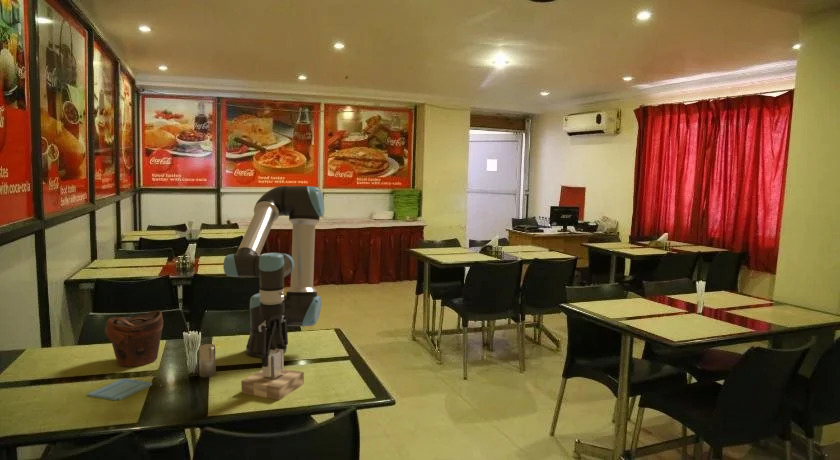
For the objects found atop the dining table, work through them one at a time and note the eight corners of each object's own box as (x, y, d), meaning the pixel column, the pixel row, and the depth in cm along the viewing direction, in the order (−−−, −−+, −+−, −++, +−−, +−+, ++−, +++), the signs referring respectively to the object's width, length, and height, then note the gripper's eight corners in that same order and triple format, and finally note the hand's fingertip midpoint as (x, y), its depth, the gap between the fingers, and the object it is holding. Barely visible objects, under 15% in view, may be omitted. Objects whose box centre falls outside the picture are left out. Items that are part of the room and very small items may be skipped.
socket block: (268, 377, 188) (267, 366, 187) (303, 383, 183) (303, 372, 182) (241, 393, 175) (241, 381, 174) (279, 400, 170) (279, 387, 169)
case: (93, 366, 196) (92, 317, 194) (140, 350, 215) (139, 304, 213) (131, 374, 190) (130, 323, 188) (175, 356, 208) (175, 310, 206)
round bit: (206, 371, 193) (206, 343, 192) (219, 373, 192) (218, 345, 191) (196, 376, 188) (195, 347, 187) (208, 378, 187) (207, 349, 186)
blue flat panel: (118, 402, 168) (118, 398, 168) (87, 397, 171) (87, 393, 171) (152, 386, 180) (152, 382, 180) (123, 381, 184) (123, 378, 184)
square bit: (272, 384, 181) (270, 349, 179) (281, 386, 180) (280, 350, 178) (265, 389, 178) (264, 353, 176) (275, 390, 176) (273, 354, 175)
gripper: (263, 310, 165) (265, 384, 168) (298, 296, 183) (299, 363, 186) (243, 307, 168) (244, 380, 170) (279, 294, 186) (280, 361, 188)
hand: (273, 371), depth 178 cm, fingers open, 6 cm apart
